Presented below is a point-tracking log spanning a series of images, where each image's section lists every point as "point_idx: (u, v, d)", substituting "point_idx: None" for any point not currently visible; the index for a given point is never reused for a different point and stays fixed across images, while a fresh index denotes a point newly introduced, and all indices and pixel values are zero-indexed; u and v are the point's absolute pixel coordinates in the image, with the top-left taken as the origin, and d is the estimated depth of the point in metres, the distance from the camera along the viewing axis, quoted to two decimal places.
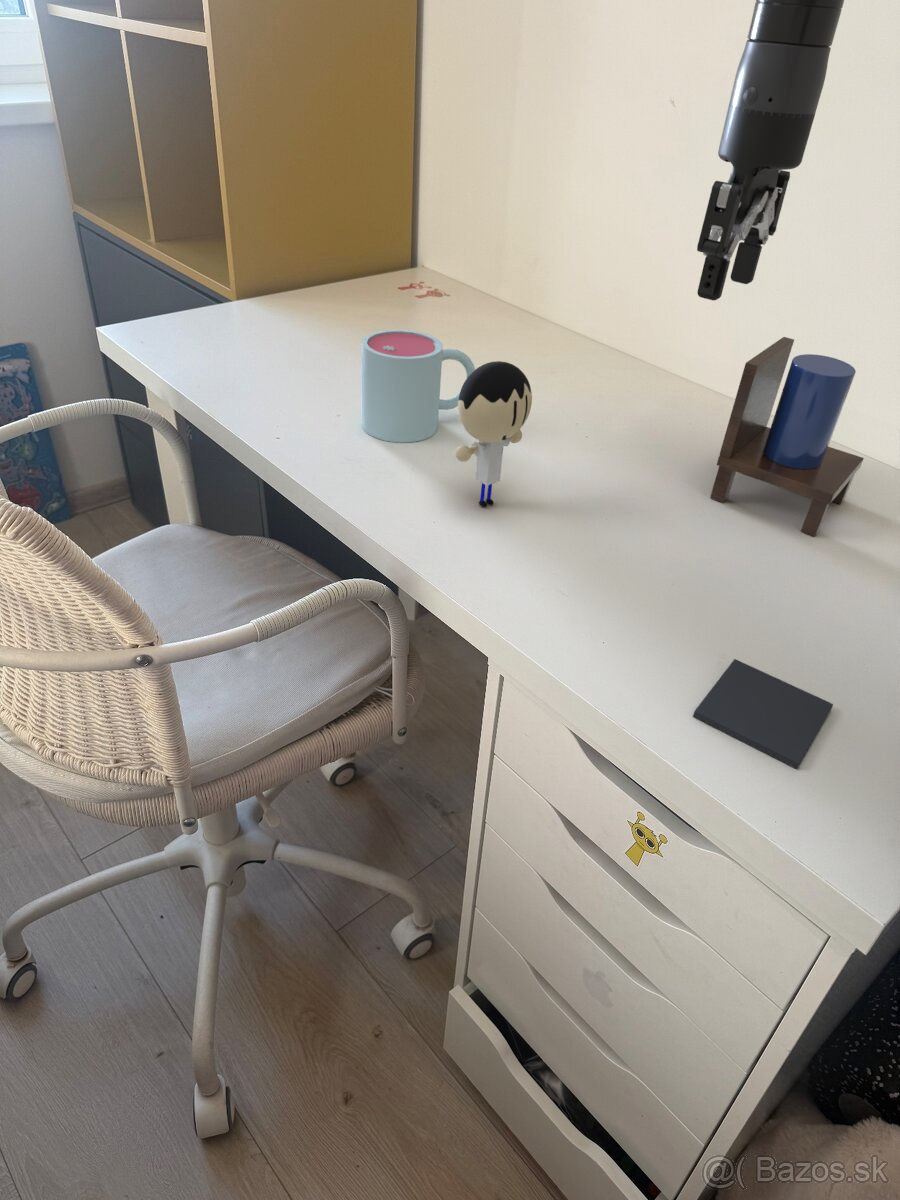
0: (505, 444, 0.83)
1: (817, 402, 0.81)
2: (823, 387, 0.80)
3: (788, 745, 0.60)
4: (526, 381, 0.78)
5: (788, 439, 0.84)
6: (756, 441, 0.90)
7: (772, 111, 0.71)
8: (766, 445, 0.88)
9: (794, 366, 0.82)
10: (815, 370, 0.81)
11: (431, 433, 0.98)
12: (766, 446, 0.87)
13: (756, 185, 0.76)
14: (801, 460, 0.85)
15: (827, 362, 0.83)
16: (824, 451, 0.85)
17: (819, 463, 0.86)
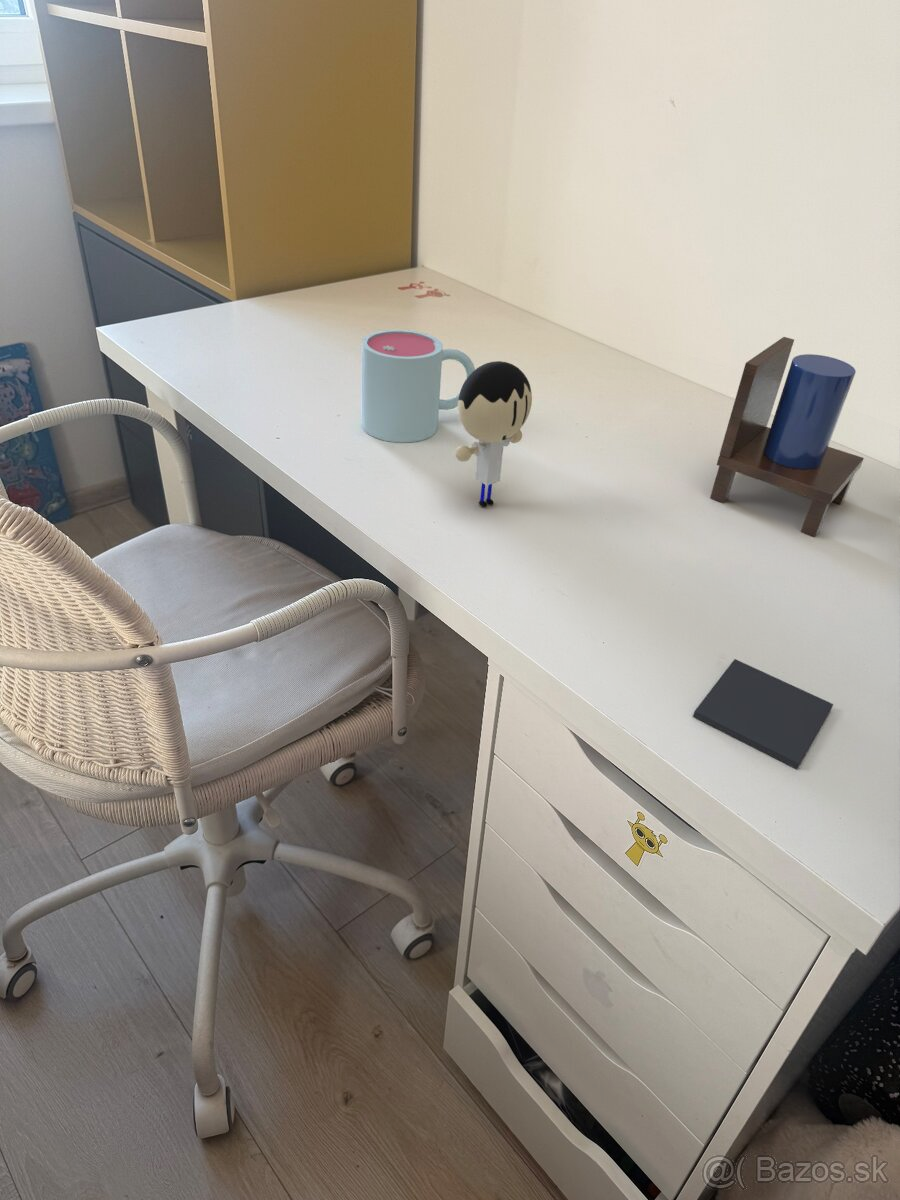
0: (505, 444, 0.83)
1: (817, 402, 0.81)
2: (823, 387, 0.80)
3: (788, 745, 0.60)
4: (526, 381, 0.78)
5: (788, 439, 0.84)
6: (756, 441, 0.90)
7: None
8: (766, 445, 0.88)
9: (794, 366, 0.82)
10: (815, 370, 0.81)
11: (431, 433, 0.98)
12: (766, 446, 0.87)
13: None
14: (801, 460, 0.85)
15: (827, 362, 0.83)
16: (824, 451, 0.85)
17: (819, 463, 0.86)
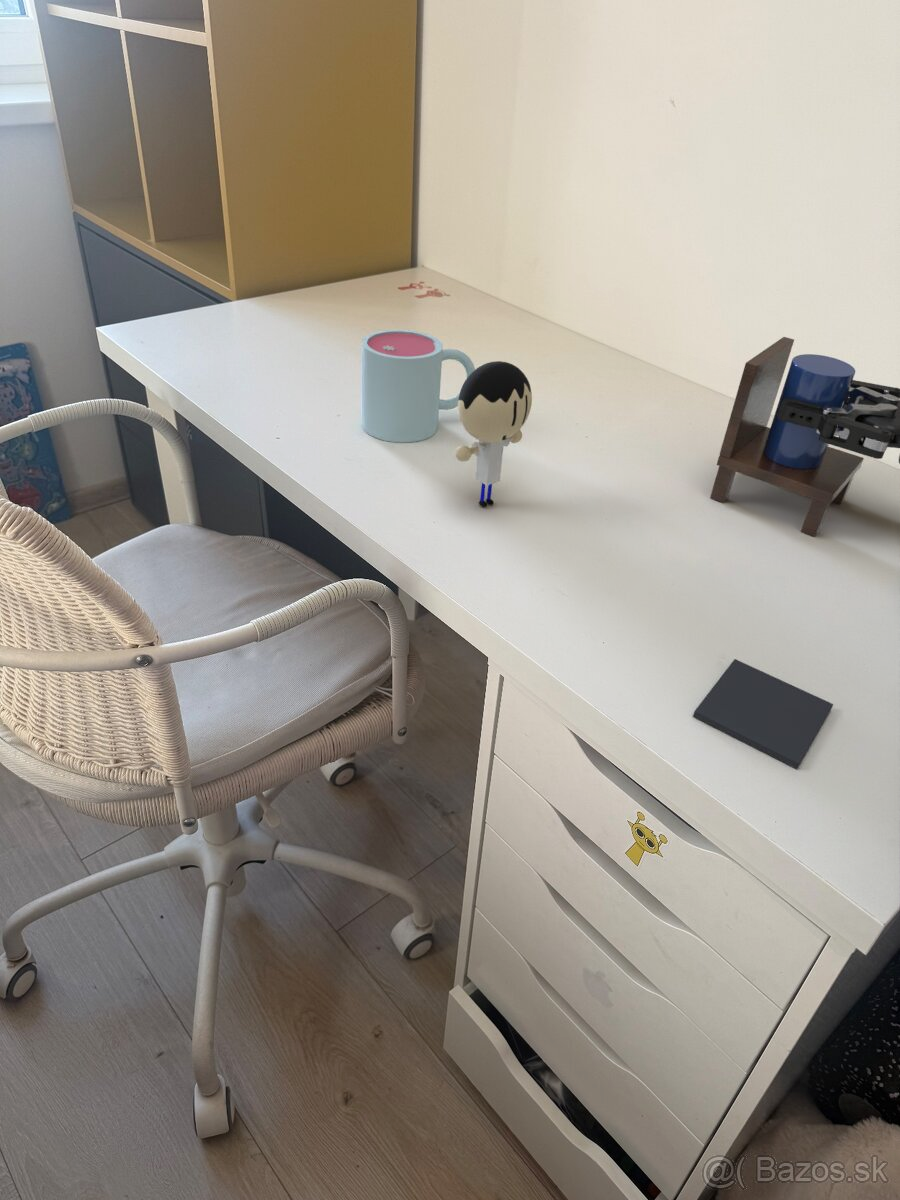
0: (505, 444, 0.83)
1: (817, 401, 0.81)
2: (823, 387, 0.80)
3: (788, 745, 0.60)
4: (526, 381, 0.78)
5: (788, 439, 0.84)
6: (756, 441, 0.90)
7: None
8: (766, 445, 0.88)
9: (793, 366, 0.82)
10: (815, 369, 0.81)
11: (431, 433, 0.98)
12: (766, 446, 0.87)
13: None
14: (801, 459, 0.85)
15: (826, 362, 0.83)
16: (824, 451, 0.85)
17: (819, 463, 0.86)
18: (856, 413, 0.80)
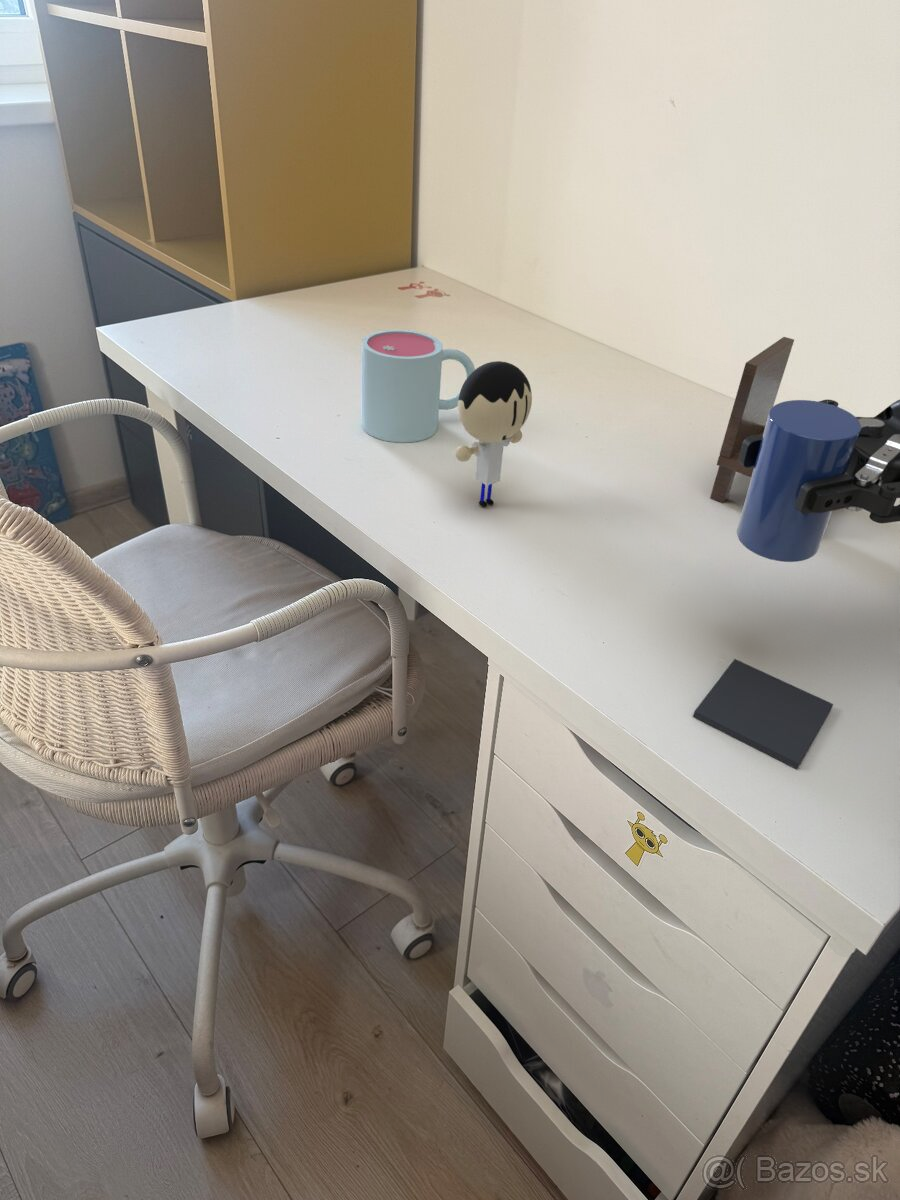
0: (505, 444, 0.83)
1: (839, 472, 0.56)
2: (847, 452, 0.56)
3: (788, 745, 0.60)
4: (526, 381, 0.78)
5: (803, 530, 0.59)
6: None
7: None
8: (758, 543, 0.61)
9: (797, 438, 0.55)
10: (828, 433, 0.55)
11: (431, 433, 0.98)
12: (759, 545, 0.61)
13: None
14: (816, 545, 0.61)
15: (806, 411, 0.58)
16: None
17: None
18: (887, 466, 0.57)
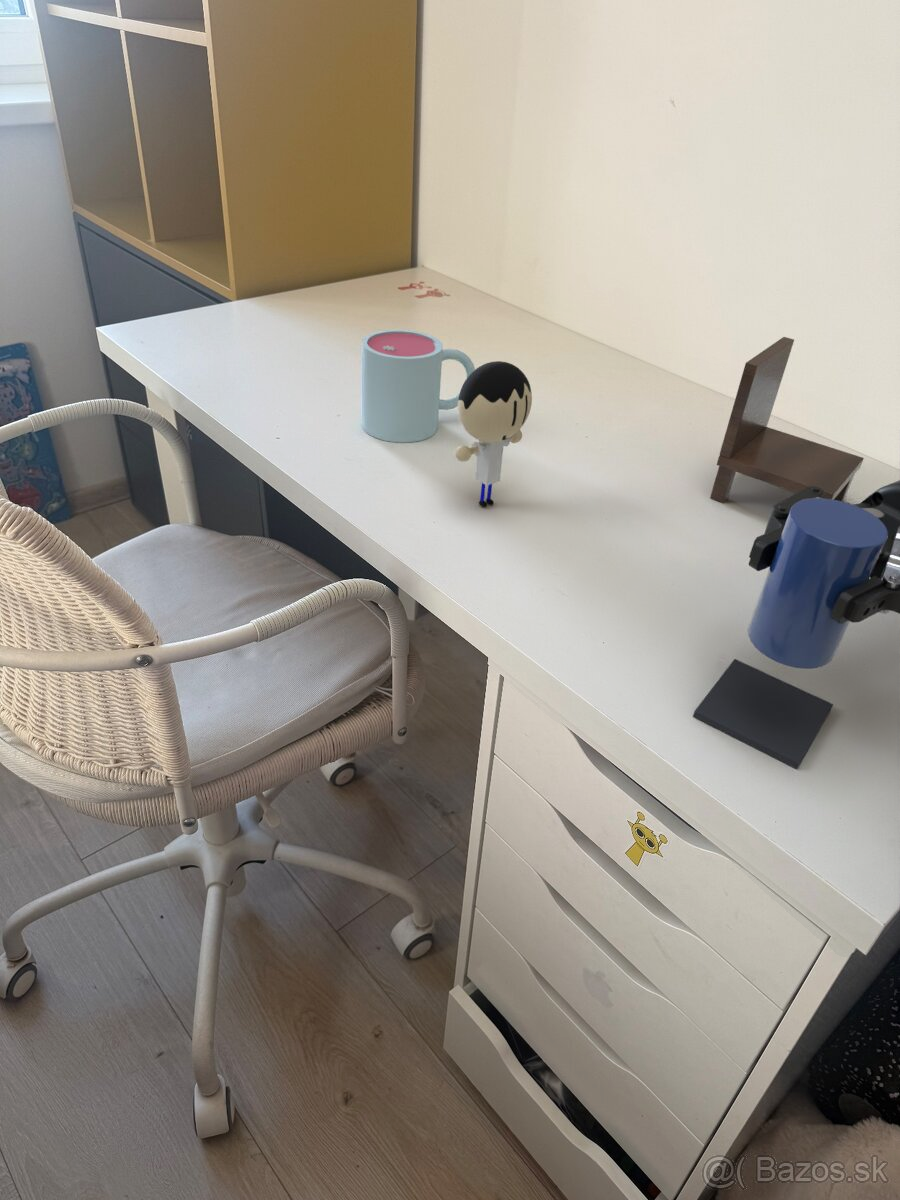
0: (505, 444, 0.83)
1: (869, 575, 0.53)
2: (878, 556, 0.52)
3: (788, 745, 0.60)
4: (526, 381, 0.78)
5: (832, 636, 0.55)
6: (756, 441, 0.90)
7: None
8: (781, 652, 0.56)
9: (834, 547, 0.51)
10: (861, 538, 0.51)
11: (431, 433, 0.98)
12: (783, 654, 0.56)
13: None
14: None
15: (825, 513, 0.54)
16: None
17: None
18: None
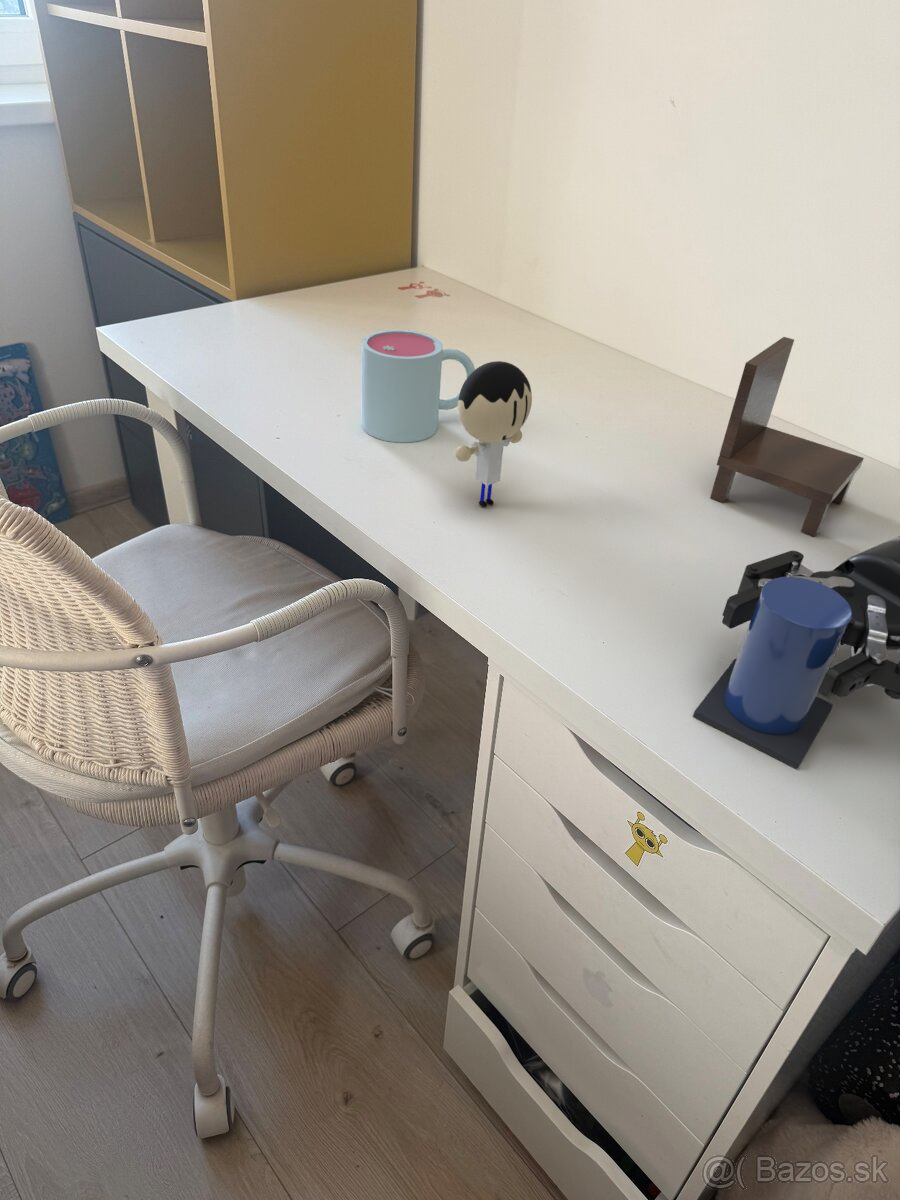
0: (505, 444, 0.83)
1: (835, 652, 0.57)
2: (843, 635, 0.56)
3: (788, 745, 0.60)
4: (526, 381, 0.78)
5: (801, 706, 0.59)
6: (756, 441, 0.90)
7: None
8: (754, 720, 0.60)
9: (801, 628, 0.55)
10: (826, 619, 0.55)
11: (431, 433, 0.98)
12: (756, 721, 0.60)
13: None
14: None
15: (794, 592, 0.58)
16: None
17: None
18: None
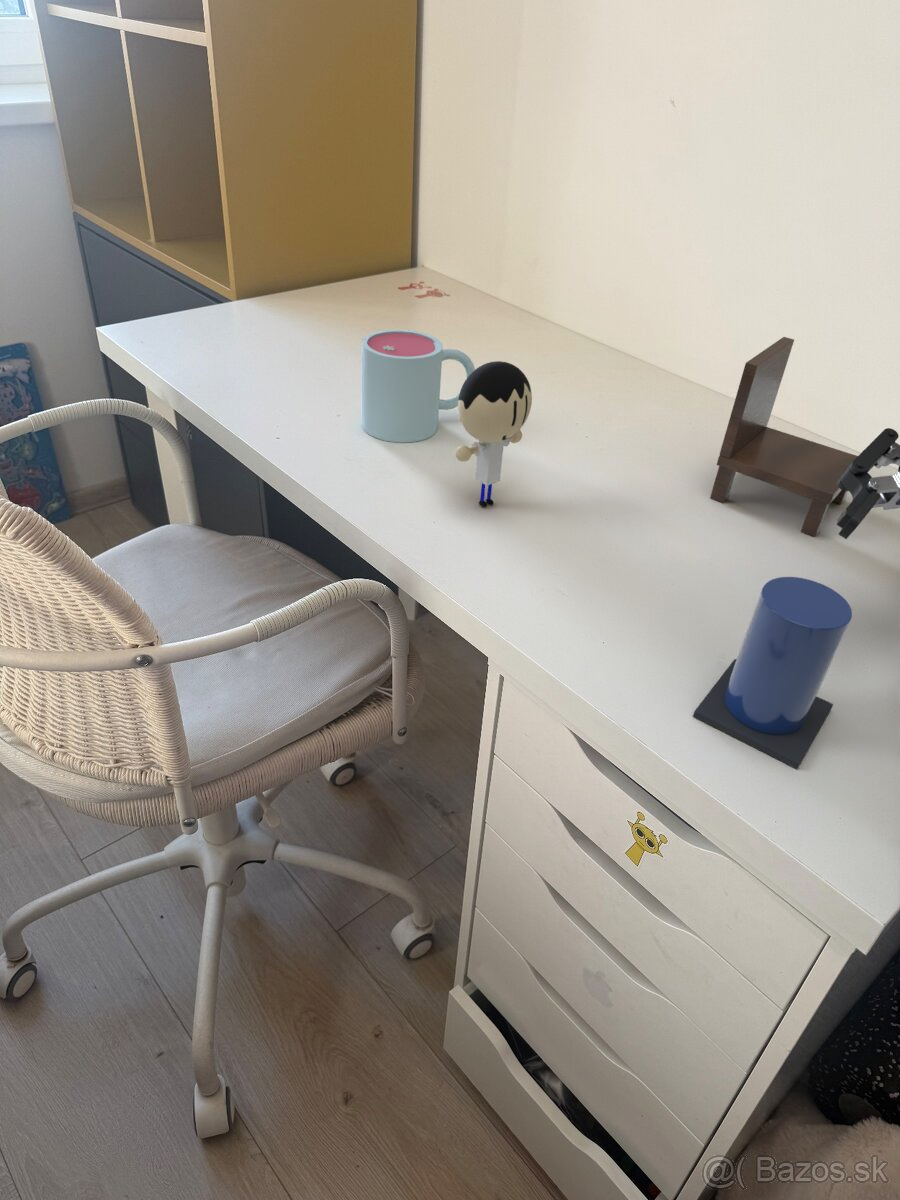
0: (505, 444, 0.83)
1: (835, 652, 0.57)
2: (843, 635, 0.56)
3: (788, 745, 0.60)
4: (526, 381, 0.78)
5: (801, 706, 0.59)
6: (756, 441, 0.90)
7: None
8: (754, 720, 0.60)
9: (801, 628, 0.55)
10: (826, 619, 0.55)
11: (431, 433, 0.98)
12: (756, 721, 0.60)
13: None
14: None
15: (794, 592, 0.58)
16: None
17: None
18: None
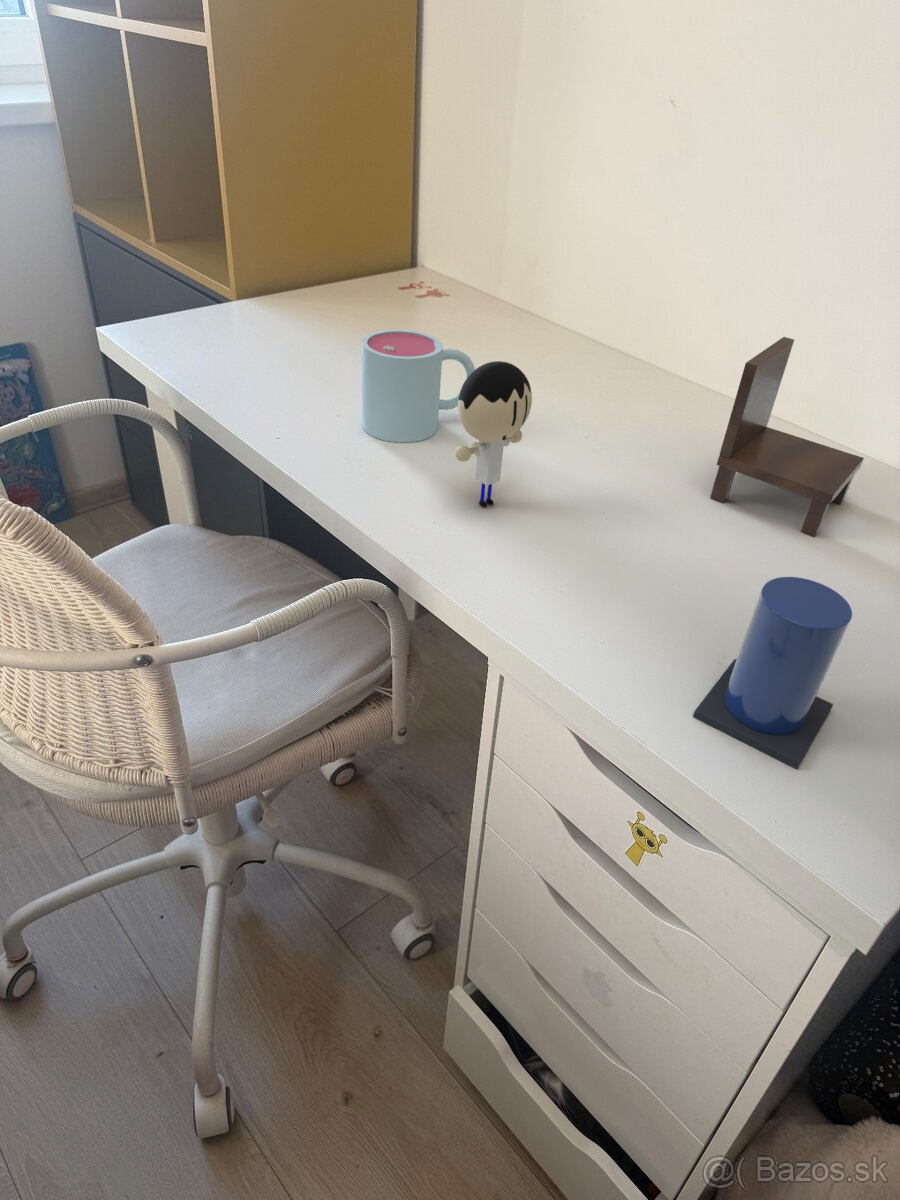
0: (505, 444, 0.83)
1: (835, 652, 0.57)
2: (843, 635, 0.56)
3: (788, 745, 0.60)
4: (526, 381, 0.78)
5: (801, 706, 0.59)
6: (756, 441, 0.90)
7: None
8: (754, 720, 0.60)
9: (801, 628, 0.55)
10: (826, 619, 0.55)
11: (431, 433, 0.98)
12: (756, 721, 0.60)
13: None
14: None
15: (794, 592, 0.58)
16: None
17: None
18: None
